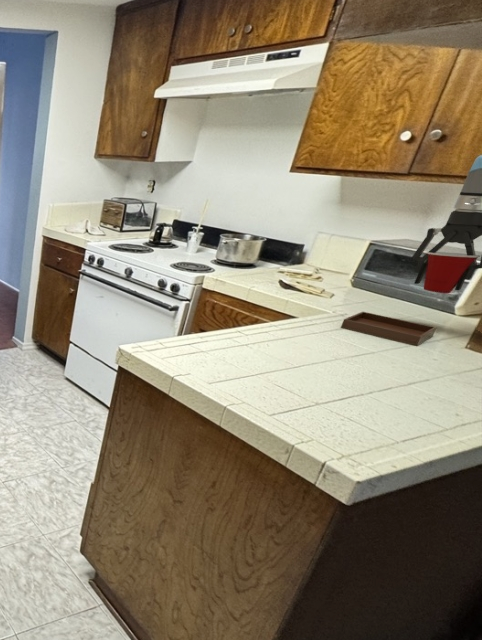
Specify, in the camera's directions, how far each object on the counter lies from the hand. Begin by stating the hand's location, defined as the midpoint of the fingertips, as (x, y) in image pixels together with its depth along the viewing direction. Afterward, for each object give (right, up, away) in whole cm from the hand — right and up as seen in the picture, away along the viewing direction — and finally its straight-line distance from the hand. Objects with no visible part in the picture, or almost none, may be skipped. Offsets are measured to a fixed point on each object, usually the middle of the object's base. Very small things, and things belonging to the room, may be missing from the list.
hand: (436, 286), depth 145 cm
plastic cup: (0, -2, 0) cm, 2 cm away
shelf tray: (-17, -14, -1) cm, 22 cm away
